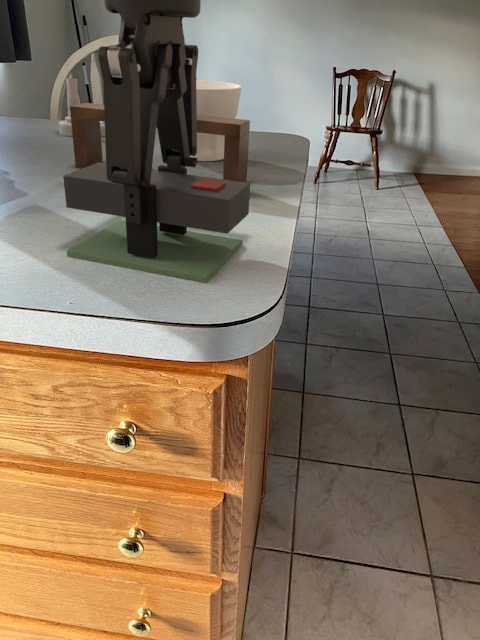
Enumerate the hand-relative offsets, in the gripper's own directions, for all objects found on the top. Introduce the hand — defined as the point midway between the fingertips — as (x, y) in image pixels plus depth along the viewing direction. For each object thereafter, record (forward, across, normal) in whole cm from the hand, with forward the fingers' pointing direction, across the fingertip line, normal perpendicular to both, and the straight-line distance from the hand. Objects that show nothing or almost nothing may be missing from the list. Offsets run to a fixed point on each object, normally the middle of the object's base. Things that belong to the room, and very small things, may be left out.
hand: (158, 242), depth 52 cm
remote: (-3, 0, 0) cm, 3 cm away
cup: (+1, +41, +12) cm, 43 cm away
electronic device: (+1, +45, +33) cm, 56 cm away
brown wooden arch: (+1, +23, +11) cm, 26 cm away
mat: (+1, 0, 0) cm, 1 cm away
